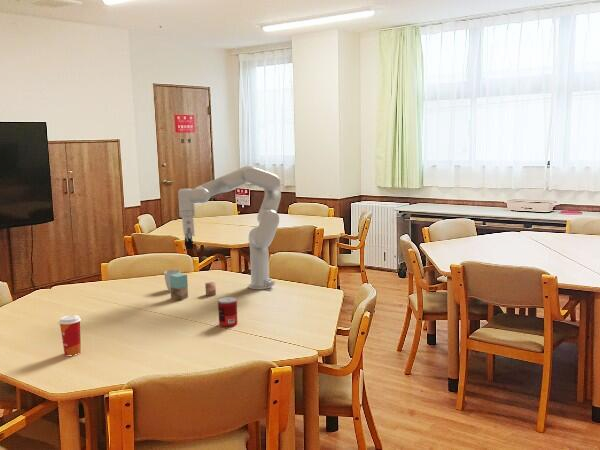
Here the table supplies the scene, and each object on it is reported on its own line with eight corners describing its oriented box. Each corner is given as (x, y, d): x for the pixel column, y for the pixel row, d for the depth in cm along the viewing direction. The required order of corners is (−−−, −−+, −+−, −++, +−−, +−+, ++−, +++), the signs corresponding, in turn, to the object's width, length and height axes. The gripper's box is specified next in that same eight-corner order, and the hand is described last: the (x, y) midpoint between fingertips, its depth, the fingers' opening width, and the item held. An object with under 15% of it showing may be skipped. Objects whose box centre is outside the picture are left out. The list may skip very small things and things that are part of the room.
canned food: (240, 322, 259) (239, 297, 257) (232, 328, 252) (231, 302, 250) (224, 321, 262) (223, 296, 260) (216, 326, 254) (214, 301, 252)
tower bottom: (188, 297, 301) (187, 285, 300) (181, 300, 296) (181, 288, 295) (177, 296, 303) (176, 284, 302) (171, 299, 298) (170, 287, 297)
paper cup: (65, 350, 230) (62, 314, 228) (85, 349, 230) (83, 313, 228) (58, 358, 222) (55, 321, 220) (80, 356, 223) (77, 320, 221)
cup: (177, 292, 311) (176, 273, 310) (162, 292, 313) (161, 273, 311) (183, 288, 319) (182, 270, 318) (169, 288, 321) (168, 269, 319)
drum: (217, 294, 306) (217, 282, 305) (211, 296, 301) (211, 285, 301) (210, 293, 308) (209, 281, 307) (203, 295, 304) (203, 284, 303)
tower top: (187, 286, 299) (187, 274, 298) (177, 289, 295) (176, 277, 294) (180, 284, 303) (180, 272, 302) (170, 287, 299) (169, 275, 298)
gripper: (196, 215, 294) (198, 249, 297) (193, 210, 311) (195, 243, 313) (180, 216, 292) (182, 250, 295) (178, 211, 309) (180, 244, 311)
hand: (189, 247), depth 304 cm, fingers open, 9 cm apart
